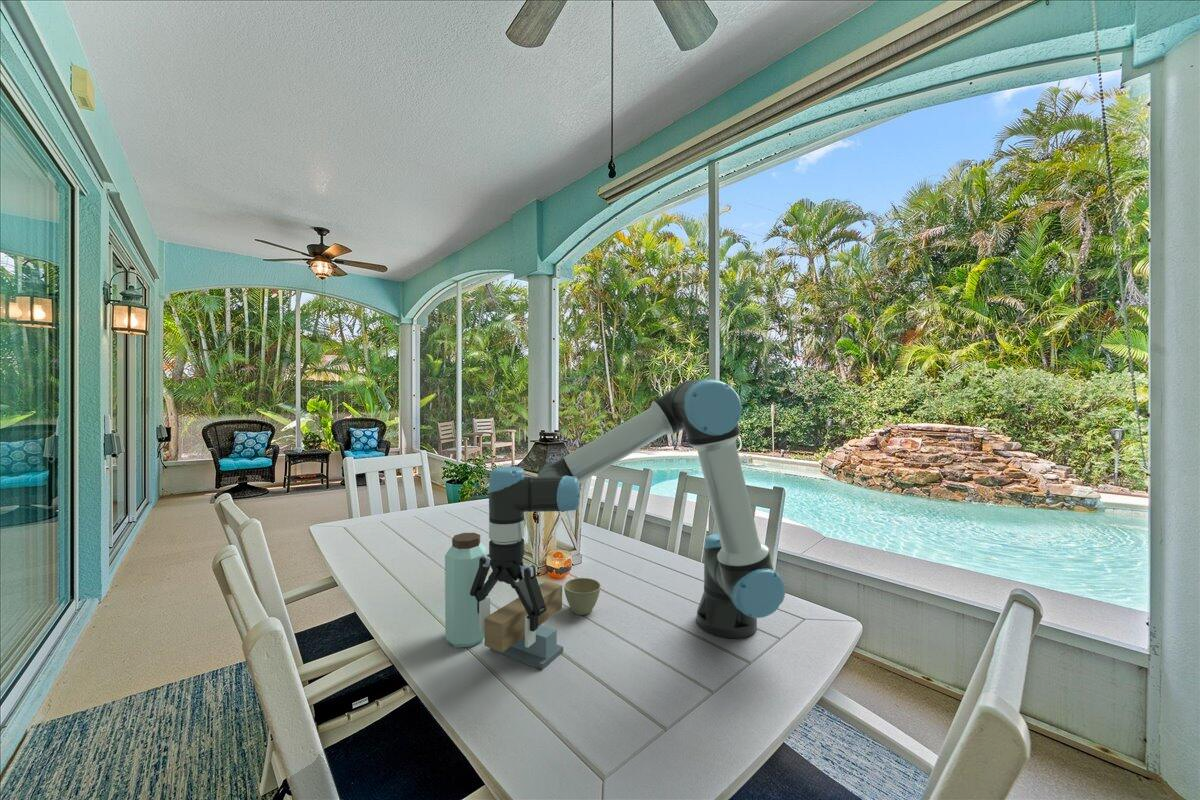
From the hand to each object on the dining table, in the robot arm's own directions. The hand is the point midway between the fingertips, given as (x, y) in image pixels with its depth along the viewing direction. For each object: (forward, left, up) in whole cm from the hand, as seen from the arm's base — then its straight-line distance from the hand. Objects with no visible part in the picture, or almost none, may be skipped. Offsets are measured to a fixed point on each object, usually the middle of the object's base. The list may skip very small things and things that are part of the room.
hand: (506, 636), depth 103 cm
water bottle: (+16, -4, -7) cm, 18 cm away
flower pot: (-1, -30, -7) cm, 31 cm away
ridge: (0, -7, -7) cm, 10 cm away
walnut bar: (0, -7, -1) cm, 7 cm away
